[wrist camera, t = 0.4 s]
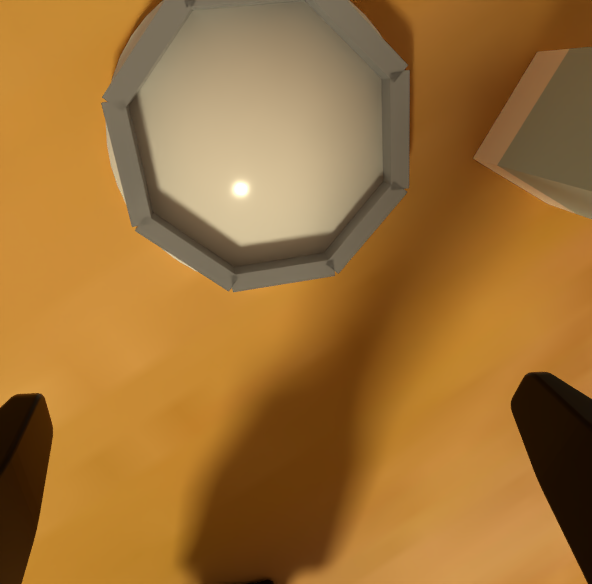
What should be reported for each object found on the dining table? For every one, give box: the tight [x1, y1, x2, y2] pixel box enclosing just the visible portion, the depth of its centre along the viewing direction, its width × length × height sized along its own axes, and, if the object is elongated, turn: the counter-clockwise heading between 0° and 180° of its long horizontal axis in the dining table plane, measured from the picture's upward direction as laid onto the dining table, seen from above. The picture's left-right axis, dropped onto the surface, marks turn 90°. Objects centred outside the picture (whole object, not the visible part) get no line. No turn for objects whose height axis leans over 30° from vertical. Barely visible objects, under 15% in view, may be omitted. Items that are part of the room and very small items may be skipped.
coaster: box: [101, 0, 410, 292], centre depth 19 cm, size 12×12×2 cm
